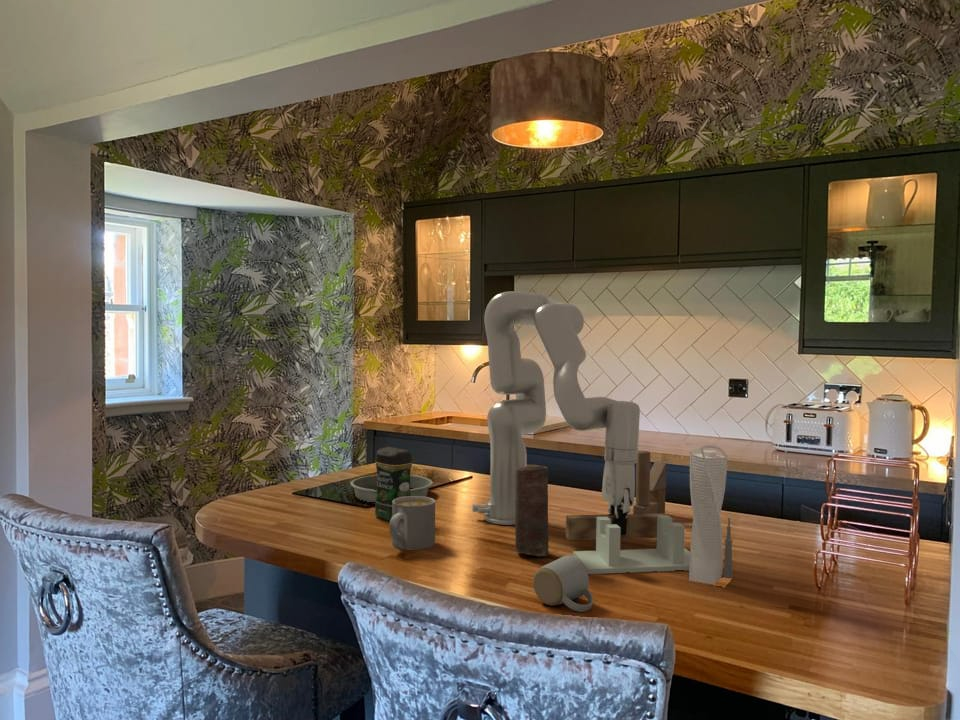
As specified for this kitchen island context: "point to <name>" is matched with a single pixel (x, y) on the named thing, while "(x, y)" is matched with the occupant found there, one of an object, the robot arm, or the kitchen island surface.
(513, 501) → the robot arm
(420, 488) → the cake pan
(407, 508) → the coffee mug
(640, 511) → the brown wooden upright piece
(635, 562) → the notched stand
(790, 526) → the kitchen island surface
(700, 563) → the skyscraper
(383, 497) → the coffee jar
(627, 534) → the walnut rail
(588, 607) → the ceramic mug
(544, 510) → the candle
